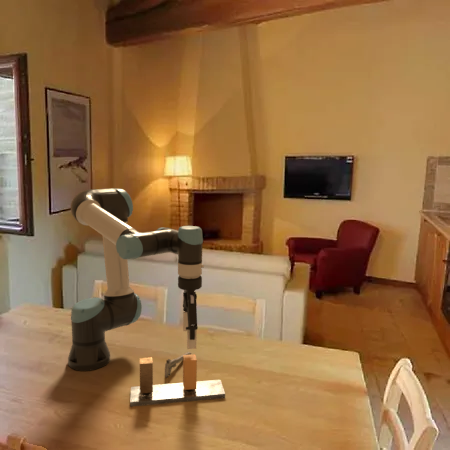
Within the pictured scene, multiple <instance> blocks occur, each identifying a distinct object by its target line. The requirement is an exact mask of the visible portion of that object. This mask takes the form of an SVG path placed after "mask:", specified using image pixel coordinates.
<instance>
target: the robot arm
mask: <svg viewBox="0 0 450 450" xmlns="http://www.w3.org/2000/svg"><path fill="white" fill-rule="evenodd" d="M133 210H134V204H133V200H132V197H131V195H130V193H128V191H126V190H125V189H123V188H113V187H112V188H99V189H98V188H97V189H92V188H91V189H85V190H82V191H79V192H78V193H77V194H76V195H74V197H73V198H72V201H71V203H70V212H71V215H72V217H73V218H74V220H75V221H77V222H78V223H79V224H81V225H83V226H89V227H90V228H91V229H93V230H95V231H96V232H97V233H98V234H100V235H101V236H102V244H103V256H104V265H105V266H104V267H105V277H106V278H105V279H106V288H107V289H106V291H105V292H104V293H103V298H101V297H97V296H96V297H95V296H93V297H87V298H83V299H81V300H79V301H77V302H76V303H74V304H73V306H72V308H71V311H70V313H71V314H70V320H71V339H72V342H71V343H72V344H71V348H70V351H69V354H68V357H67V365H68V368H71V369H72V370H74V371H80V372H86V371H87V372H88V371H95V370H98V369H100V368H103V367H104V366H106V365H108V364H109V363H110V361H111V351H110V350H109V347H108V345H107V342H106V337H105V336H106V335H105V334H106V333H105V332H108V331H111V330H114V329H117V328H122V327H125V326H129V325H131V324H134V323H135V322H137V321H138V320H139V319H140V317H141V315H142V307H143V306H142V300H141V298H140V296H139V295H138V294H137V293H135V289H133V288H132V287H131V285H130V284H131V283H130V276H129V262H128V261H129V260H137V259H139V258H143V257H144V258H145V257H149V256H156V255H161V254H168V253H171V254H175V255H178V256H177V257H178V259H177V275H178V277H177V280H178V281H177V287H178V289H180V290H182V291H183V292H182V296H183V297H182V298H183V300H182V307H183V308H182V311H183V313H182V314H183V318H182V319H183V320H182V325H183V327H182V330H183V332H187V337H186V338H187V340H186V341H187V342H186V343H187V344H186V345H187V346H186V348H187V350H194V349H197V330H198V313H197V308H198V307H197V305H198V304H197V297H198V296H197V292H196V291H197V290H199V289H201V288H202V286H203V276H202V273H203V272H202V271H203V268H204V267H205V265H204V264H203V243H204V238H203V230H202V228H201V227H200V226H196V225H195V226H193V225H183V226H182V225H181V226H179V228H178V229H173V228H170V227H158V228H157V229H156V230H154V231H153V230H152V231H144V232H142V231H141V232H140V231H139V230H137V229H136V228H134V227H132V226H130V225H129V224H128V222H129V217H131V216H132V215H133Z"/></svg>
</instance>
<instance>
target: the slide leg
mask: <svg viewBox="0 0 450 450" xmlns="http://www.w3.org/2000/svg"><path fill="white" fill-rule="evenodd" d="M182 355H183V354H182ZM197 361H198V359H197V356H196V354H190V355H183V360H182V383H183V386H184V390H189V389H196V387H197V380H198V379H197V377H198V376H197V372H198V371H197V367H198V365H197V364H198V363H197Z"/></svg>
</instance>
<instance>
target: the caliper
mask: <svg viewBox="0 0 450 450" xmlns="http://www.w3.org/2000/svg"><path fill="white" fill-rule="evenodd" d="M183 355H192V352H190V351H187V352H185V353H184V354H181V355H180V356H178V357H176V358H173V359H171V358H170V359H169V358H168V359H166V362H165V364H164V378H169V377H170V376H171V374H172V373H171V372H172V369H173V368H175V367H176V366H177V364H179V363H180V362H183Z"/></svg>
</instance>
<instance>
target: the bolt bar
mask: <svg viewBox="0 0 450 450" xmlns="http://www.w3.org/2000/svg"><path fill="white" fill-rule="evenodd" d="M153 364H154V363H153V357H152V356H151V357H139V386H131V387H130V398H129V401H130V402H129V406H130V407H131V408H132V407H142V406H152V405H153V406H154V405H163V404H164V405H165V404H172V403H184V402H195V401H196V402H197V401H206V400H207V401H208V400H216V399H217V400H218V399H225V398H226V392H225V389H224V386H223V384H222V380H221V379H213V380H212V379H211V380H198V381H197V387H196V389H189V390H184V386H183V382H175V383H163V384H160V383H159V384H154V377H153V375H154V373H153V372H154V371H153V370H154V368H153V367H154V365H153Z"/></svg>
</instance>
